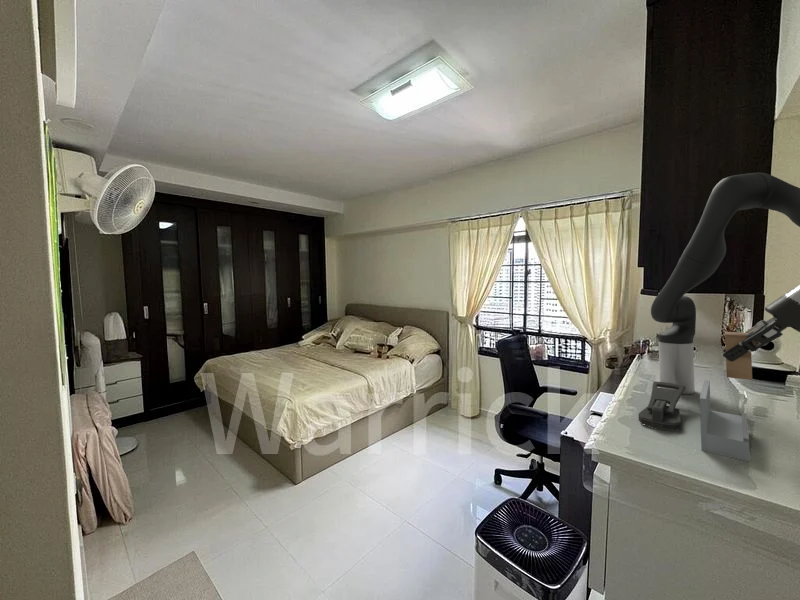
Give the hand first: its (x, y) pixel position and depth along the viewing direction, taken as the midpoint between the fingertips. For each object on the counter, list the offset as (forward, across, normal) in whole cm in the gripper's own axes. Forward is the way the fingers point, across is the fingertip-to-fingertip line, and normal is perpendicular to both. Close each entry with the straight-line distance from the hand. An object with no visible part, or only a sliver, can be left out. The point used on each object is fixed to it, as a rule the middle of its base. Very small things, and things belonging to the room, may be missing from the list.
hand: (726, 356), depth 76 cm
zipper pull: (+24, -10, +5) cm, 26 cm away
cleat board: (+15, +1, +14) cm, 20 cm away
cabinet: (+2, 0, +4) cm, 5 cm away
